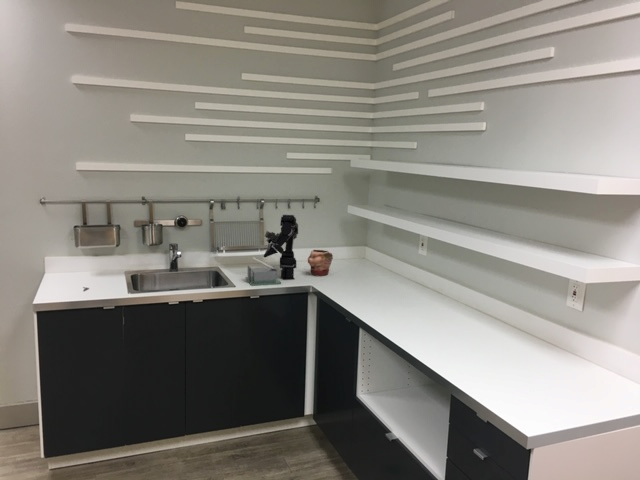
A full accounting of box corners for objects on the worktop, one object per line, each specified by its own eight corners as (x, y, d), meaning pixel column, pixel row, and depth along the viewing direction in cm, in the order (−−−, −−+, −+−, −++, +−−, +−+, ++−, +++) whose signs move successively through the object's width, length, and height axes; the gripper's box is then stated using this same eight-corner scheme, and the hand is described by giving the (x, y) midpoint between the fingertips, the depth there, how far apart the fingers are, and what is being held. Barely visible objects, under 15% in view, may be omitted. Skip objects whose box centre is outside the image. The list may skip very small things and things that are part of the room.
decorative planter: (322, 269, 315) (323, 247, 313) (338, 272, 308) (339, 249, 306) (302, 275, 299) (302, 251, 297) (319, 278, 292) (319, 254, 290)
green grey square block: (273, 277, 292) (273, 262, 290) (281, 284, 277) (281, 268, 276) (245, 278, 286) (245, 263, 285) (251, 285, 272) (251, 270, 270)
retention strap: (273, 268, 285) (273, 267, 285) (275, 270, 281) (275, 269, 281) (252, 257, 280) (253, 256, 280) (254, 259, 276) (254, 258, 276)
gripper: (270, 223, 287) (250, 243, 286) (277, 228, 270) (256, 250, 269) (283, 236, 291) (264, 257, 290) (292, 243, 274) (271, 264, 272)
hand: (264, 256), depth 280 cm, fingers closed
